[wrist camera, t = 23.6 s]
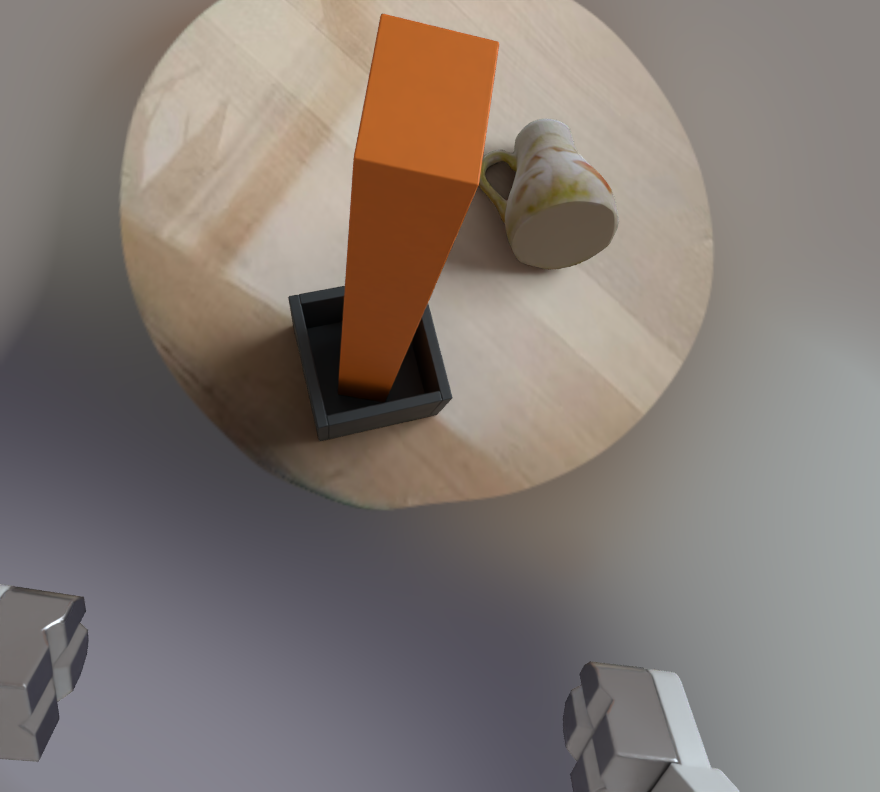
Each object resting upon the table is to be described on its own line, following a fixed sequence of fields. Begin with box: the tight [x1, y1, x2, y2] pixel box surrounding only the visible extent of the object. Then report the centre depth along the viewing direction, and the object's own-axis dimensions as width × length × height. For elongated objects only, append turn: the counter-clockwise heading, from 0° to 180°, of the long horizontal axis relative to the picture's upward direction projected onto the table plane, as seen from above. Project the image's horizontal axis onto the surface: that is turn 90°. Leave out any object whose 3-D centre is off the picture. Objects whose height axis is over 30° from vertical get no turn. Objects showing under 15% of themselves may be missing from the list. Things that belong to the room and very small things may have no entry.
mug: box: [479, 119, 618, 269], centre depth 46 cm, size 8×10×10 cm
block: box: [338, 14, 499, 402], centre depth 30 cm, size 3×4×28 cm
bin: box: [288, 286, 452, 441], centre depth 42 cm, size 8×8×6 cm
